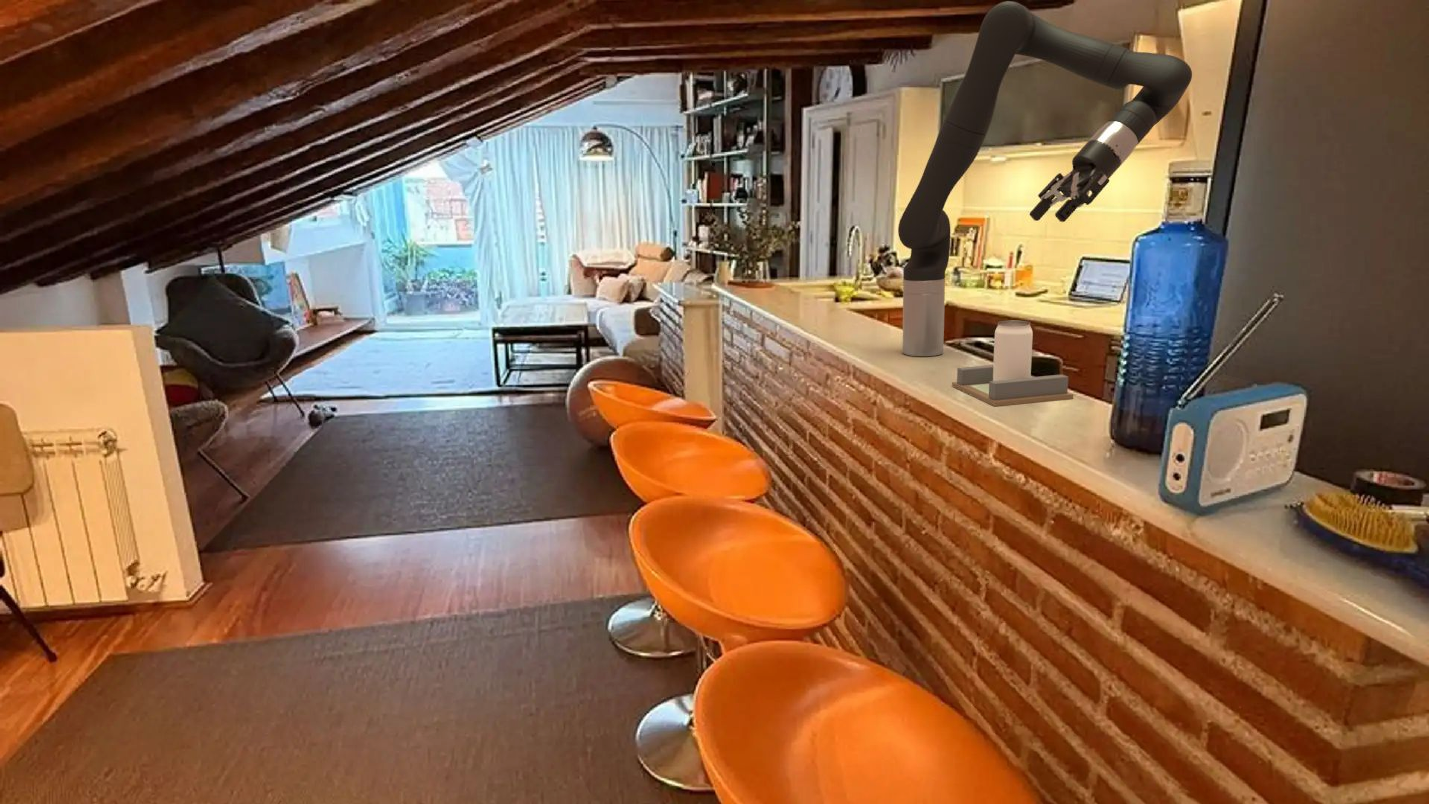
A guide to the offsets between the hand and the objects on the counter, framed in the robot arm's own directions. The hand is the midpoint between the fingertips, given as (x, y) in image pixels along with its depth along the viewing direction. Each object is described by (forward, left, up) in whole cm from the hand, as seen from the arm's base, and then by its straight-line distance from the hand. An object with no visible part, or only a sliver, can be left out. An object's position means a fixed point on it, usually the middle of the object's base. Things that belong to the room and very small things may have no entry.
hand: (1045, 218), depth 151 cm
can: (+10, -11, -30) cm, 34 cm away
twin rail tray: (+10, -12, -31) cm, 34 cm away
